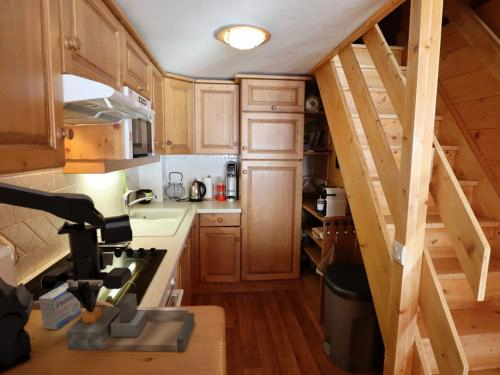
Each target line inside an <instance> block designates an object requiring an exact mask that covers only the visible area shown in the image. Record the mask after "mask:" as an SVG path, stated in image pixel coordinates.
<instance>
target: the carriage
mask: <svg viewBox="0 0 500 375" xmlns="http://www.w3.org/2000/svg"><path fill="white" fill-rule="evenodd" d="M117 305H118V306H117V307H119V315H118V317H117V318H116V319H115V320H114V321H113V323H112V324H111V334H112V337H138V335H139V333H140V332H141V330H142V329H143V327H144V326H145V324H146V323H147V316H146V311H137V307H138V303H137V293H125V295H124V296H123V297H122V298H121V299H120V300H119V301H118V302H117Z"/></svg>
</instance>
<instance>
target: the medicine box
mask: <svg viewBox="0 0 500 375" xmlns="http://www.w3.org/2000/svg"><path fill="white" fill-rule="evenodd" d="M67 288H68V283H67V282H64V283H62V284H60V285H59V286H58V287H57V286H56V287H55V288H53V289H51V290H50V291H49V292H47V293H45V294H43V295H41V296H40V297H39V298H38V301H39V308H40V316H41V324H42V329H46V330H54V331H58V330H61V328H63V327H64V326H65V325H66V324H68V323H69V322H70V321H72V320H73V319H74V318H76V317H77V316H78V315H80V314H81V313H82V308H81V303H80V302H79V301H78V300H77V299H76V298H75V297H74V296H73V295H72V294H71V293H70V292H67V291H66V289H67Z"/></svg>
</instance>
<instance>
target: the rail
mask: <svg viewBox="0 0 500 375" xmlns="http://www.w3.org/2000/svg"><path fill="white" fill-rule="evenodd" d="M95 307H101V314H102V316H101V317H100V319H99V320H98V321H97V322H96V323H83V320H82V316H81V317H80V318H79V319H78V320H77V321H76V322H74V323H73V324H72V326H71V327H69V329H67V330H66V331H65V334H66V335H65V336H66V341H67V350H68V351H119V352H120V351H121V352H124V351H125V352H126V351H128V352H129V351H130V352H131V351H132V352H177V353H178V352H179V353H180V352H185V350H186V347H187V345H188V342H189V339H190V338H191V334H192V332H193V329H194V326H195V324H196V322H195V321H196V320H195V312H189V309H188V307H163V306H162V307H161V306H159V307H156V306H155V307H151V306H150V307H148V306H146V307H145V306H140V307H138V306H137V311H146V316H147V323H146V324H145V326H144V327H143V329H142V330H141V332H140V333H139V335H138V337H112V334H111V324H112V323H113V321H114V320H115V319H116V318H117V317H118V315H119V306H100V305H99V306H96V305H95Z"/></svg>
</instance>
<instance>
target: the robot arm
mask: <svg viewBox="0 0 500 375" xmlns="http://www.w3.org/2000/svg"><path fill="white" fill-rule="evenodd" d="M0 204H3V205H9V206H14V207H20V208H24V209H25V208H26V209H31V210H36V211H42V212H45V213H49V214H50V215H52V216H55V217H56V218H59V219H62V220H65V221H64V222H63V224H62V225H61V226H60V227H59V228H58V229H57V232H56V233H57V235H60V236H61V235H66V234H67V236H68V243H69V244H68V245H69V253H70V254H69V256H67V257H66V263H70V264H71V267H70V266H69V267H66V266H65V267H64V266H63V267H61V266H60V267H59V266H57V267H55V268H54V269H52V270H50V271H49V272H47V273H45V274H44V275H42V277H41V278H40V279H41V280H40V285H41V289H43V290H44V289H50V290H54V289H55V288H57V286H58V285H59V284H58V282H65V283H68V288H67V289H66V291H67V292H70V293H71V294H72V295H73V296H74V297H75V298H76V299H77V300H78V301H79V302H80V305H81V306H83V307H84V309H85V311H86V310H87V311H88V312H92V311H93V310H94V308H95V306H96V304H97V301H98V297H99V294H100V292H101V289H102V288H103V287H104V288H105V289H106V290H120V289H122V288H123V287H125V285H126V284H127V283H129V281H130V280H131V279H132V277H133V275H132V274H133V273H132V270H131V269H130V267H113V268H112V269H110V271H109V272H108V271H104V270H106V269H107V266H111V267H112V266H113V264H114V256H115V253H114V252H104V250H103V248H99V239H98V238H99V237H98V230H99V233H100V241H101V243H104V244H105V245H107V246H112V245H118V244H124V243H129V242H133V237H134V236H133V229H132V226H131V222H130V221H131V220H130V215H129V214H127V213H126V214H121V215H115V216H106V217H105V216H104V215H103V213H102V212H100V211H99V210H98V209H97V208H96V207H95V203H94V200H93V198H91V196H89V195H88V194H84V193H73V192H49V191H45V190H39V189H34V188H29V187H26V186H25V187H24V186H21V185H16V184H11V183H6V182H2V181H0ZM33 297H34V294H33V293H31V292H29V290H27V288H26V286H25V284H24V283H23V282H20V283H19V284H18V285H16V286H14V285H11V284H9V283H7V282H6V281H5V280H4V279H3V278H2V277H1V276H0V374H3V373H5V372H6V371H9V370H11V369H14V368H15V367H18V366H20V365H22V364H25V363H26V362H28V361H29V362H30V360H32V357H31V354H30V353H31V352H32V344H31V338H30V334H29V331H28V330H26V329H25V327H26V326H27V324H28V323H29V319H30V317H31V314H32V311H33V307H34V300H33ZM2 372H3V373H2Z"/></svg>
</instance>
